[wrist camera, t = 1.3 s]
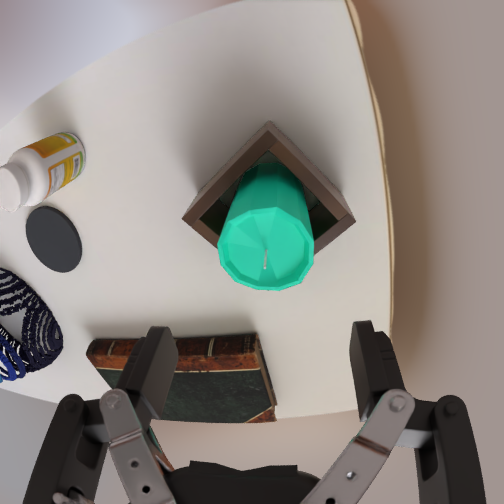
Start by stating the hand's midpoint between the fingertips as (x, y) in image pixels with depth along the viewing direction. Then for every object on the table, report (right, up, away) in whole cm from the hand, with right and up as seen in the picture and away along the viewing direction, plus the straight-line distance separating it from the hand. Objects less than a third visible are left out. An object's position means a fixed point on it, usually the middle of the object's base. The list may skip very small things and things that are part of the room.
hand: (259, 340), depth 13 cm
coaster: (-25, +5, +19) cm, 32 cm away
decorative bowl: (-40, -7, +29) cm, 50 cm away
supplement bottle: (-20, +14, +14) cm, 28 cm away
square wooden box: (+1, +9, +15) cm, 18 cm away
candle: (+1, +9, +15) cm, 18 cm away
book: (-10, -15, +30) cm, 35 cm away
